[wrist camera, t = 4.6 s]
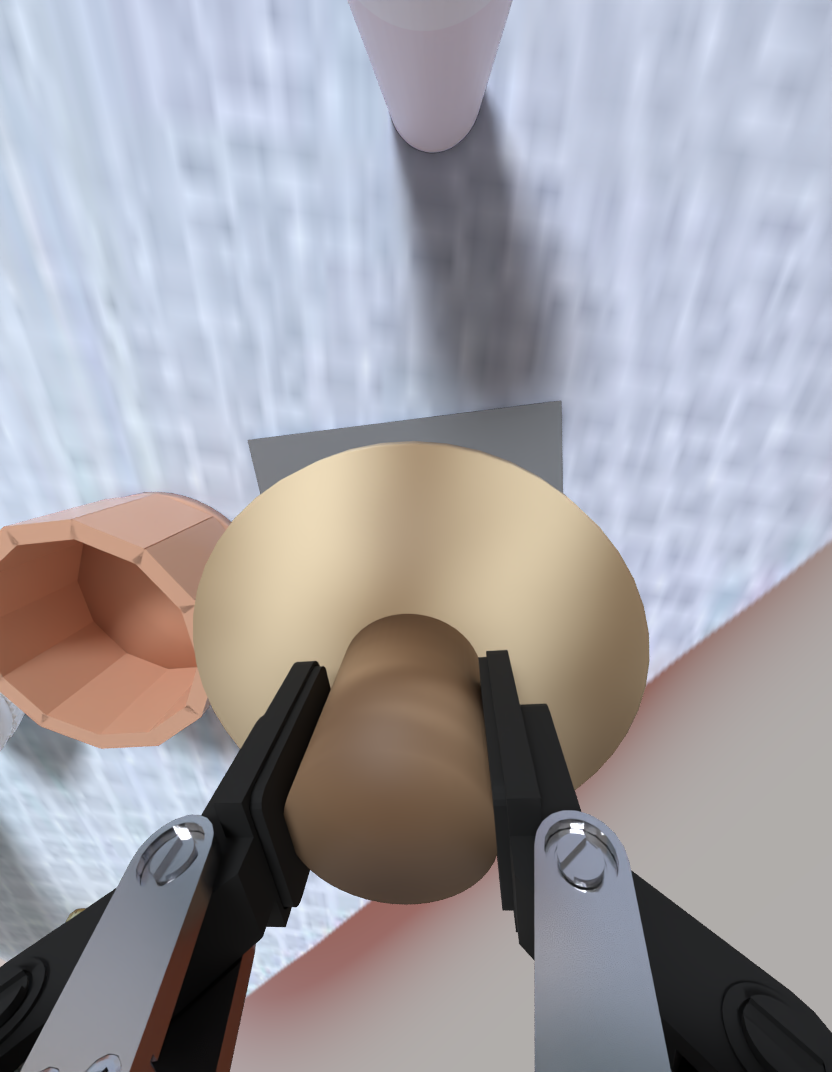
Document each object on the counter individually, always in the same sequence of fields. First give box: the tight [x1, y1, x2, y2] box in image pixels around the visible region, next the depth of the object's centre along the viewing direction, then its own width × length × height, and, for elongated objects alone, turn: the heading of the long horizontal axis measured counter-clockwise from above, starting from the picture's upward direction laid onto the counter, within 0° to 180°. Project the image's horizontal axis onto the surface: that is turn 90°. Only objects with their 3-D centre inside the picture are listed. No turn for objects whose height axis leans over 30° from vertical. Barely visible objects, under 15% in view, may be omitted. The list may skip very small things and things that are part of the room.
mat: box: [248, 401, 563, 494], centre depth 22 cm, size 15×15×1 cm
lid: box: [193, 441, 649, 904], centre depth 10 cm, size 13×13×6 cm
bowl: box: [0, 492, 232, 749], centre depth 20 cm, size 11×11×6 cm
